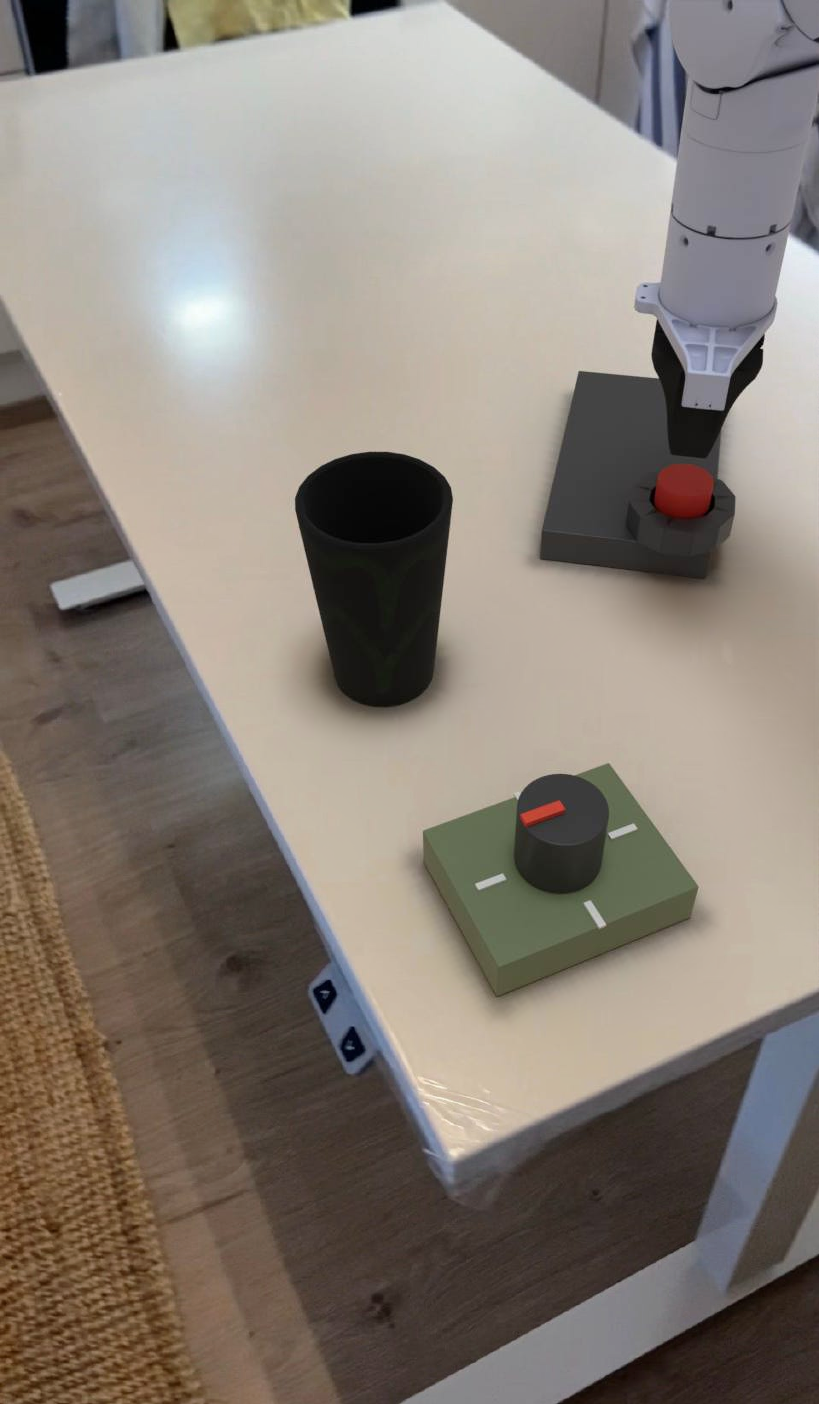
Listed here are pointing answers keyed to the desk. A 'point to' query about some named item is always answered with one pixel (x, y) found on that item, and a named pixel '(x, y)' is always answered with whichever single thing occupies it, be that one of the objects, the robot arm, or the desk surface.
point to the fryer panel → (555, 926)
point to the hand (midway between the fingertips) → (689, 449)
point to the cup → (377, 569)
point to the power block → (626, 485)
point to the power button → (683, 491)
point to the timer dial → (560, 832)
